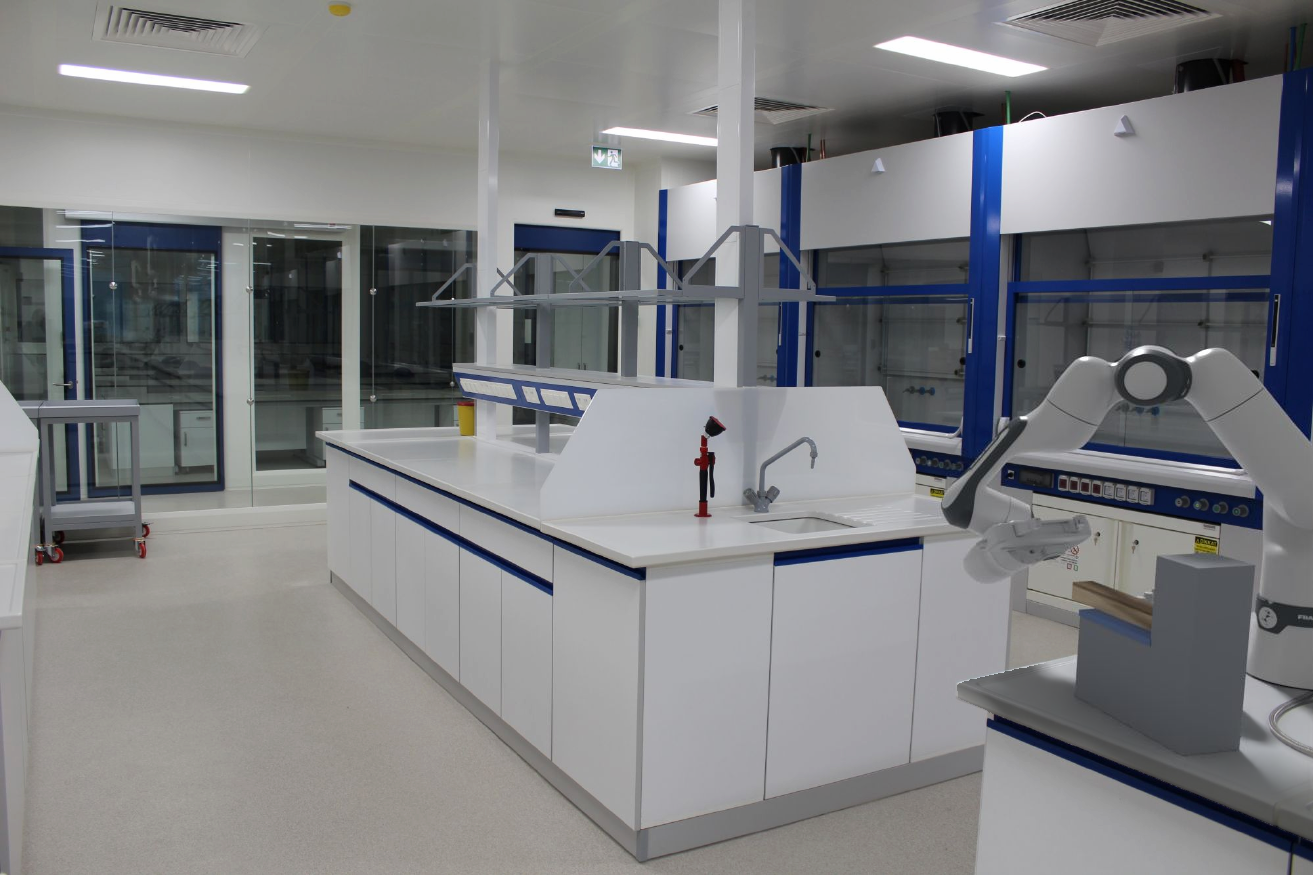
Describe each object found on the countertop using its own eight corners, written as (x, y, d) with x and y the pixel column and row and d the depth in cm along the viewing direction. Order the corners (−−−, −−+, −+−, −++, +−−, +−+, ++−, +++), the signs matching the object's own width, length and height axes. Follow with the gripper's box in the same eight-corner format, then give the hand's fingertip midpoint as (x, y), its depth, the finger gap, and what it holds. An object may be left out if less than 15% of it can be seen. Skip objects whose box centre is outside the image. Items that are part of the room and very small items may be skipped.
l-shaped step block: (1125, 690, 170) (1136, 531, 166) (1240, 749, 146) (1256, 564, 143) (1073, 695, 167) (1083, 533, 164) (1182, 755, 144) (1197, 568, 141)
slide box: (1091, 597, 173) (1092, 580, 173) (1178, 632, 154) (1179, 613, 153) (1071, 598, 172) (1072, 581, 172) (1156, 633, 153) (1158, 614, 152)
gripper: (966, 532, 189) (1005, 507, 176) (1059, 525, 194) (1102, 500, 182) (975, 564, 186) (1015, 540, 174) (1068, 556, 191) (1113, 533, 179)
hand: (1060, 520), depth 178 cm, fingers open, 8 cm apart
